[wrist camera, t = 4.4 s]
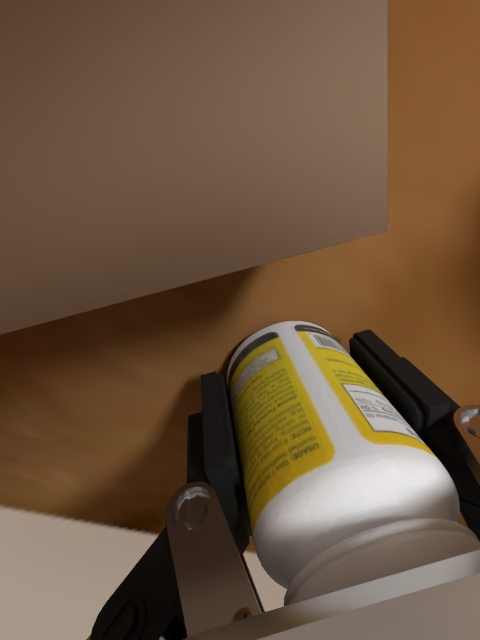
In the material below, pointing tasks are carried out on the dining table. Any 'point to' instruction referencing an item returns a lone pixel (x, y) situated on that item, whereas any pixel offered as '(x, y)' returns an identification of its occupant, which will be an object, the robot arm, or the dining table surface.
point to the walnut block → (181, 142)
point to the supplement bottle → (333, 468)
